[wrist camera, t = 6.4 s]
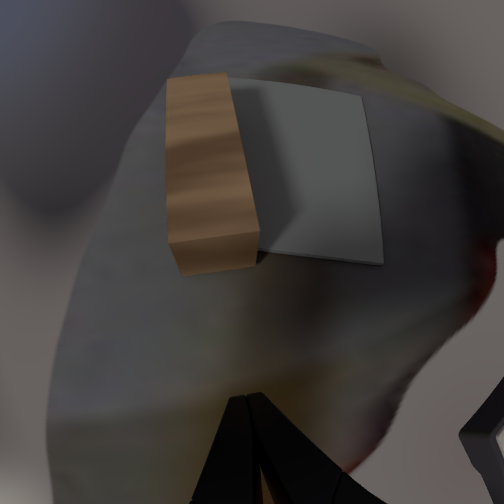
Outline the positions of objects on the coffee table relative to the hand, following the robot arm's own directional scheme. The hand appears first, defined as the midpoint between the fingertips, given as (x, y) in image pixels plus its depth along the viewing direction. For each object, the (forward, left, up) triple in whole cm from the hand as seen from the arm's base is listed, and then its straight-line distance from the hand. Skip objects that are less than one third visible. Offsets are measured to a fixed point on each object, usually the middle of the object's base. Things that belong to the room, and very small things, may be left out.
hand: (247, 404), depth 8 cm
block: (+7, +2, -7) cm, 11 cm away
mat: (+18, -1, -10) cm, 21 cm away
